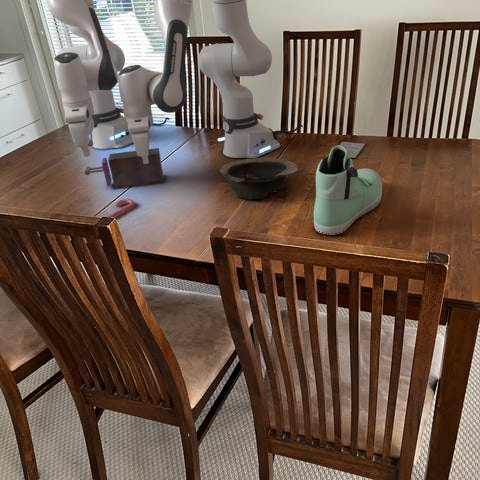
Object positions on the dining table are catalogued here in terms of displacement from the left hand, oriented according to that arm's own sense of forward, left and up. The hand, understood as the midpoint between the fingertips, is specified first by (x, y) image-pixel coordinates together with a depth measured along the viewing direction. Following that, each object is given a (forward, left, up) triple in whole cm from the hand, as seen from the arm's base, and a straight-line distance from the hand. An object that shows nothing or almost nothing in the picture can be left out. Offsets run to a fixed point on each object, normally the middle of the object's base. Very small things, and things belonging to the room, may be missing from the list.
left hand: (89, 150), depth 157 cm
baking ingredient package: (-76, +50, -13) cm, 92 cm away
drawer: (-6, +5, -12) cm, 15 cm away
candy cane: (+7, +22, -13) cm, 27 cm away
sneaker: (-38, +75, -13) cm, 86 cm away
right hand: (-14, +10, -5) cm, 19 cm away
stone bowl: (-32, +45, -13) cm, 57 cm away
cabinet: (-11, +8, -13) cm, 19 cm away
